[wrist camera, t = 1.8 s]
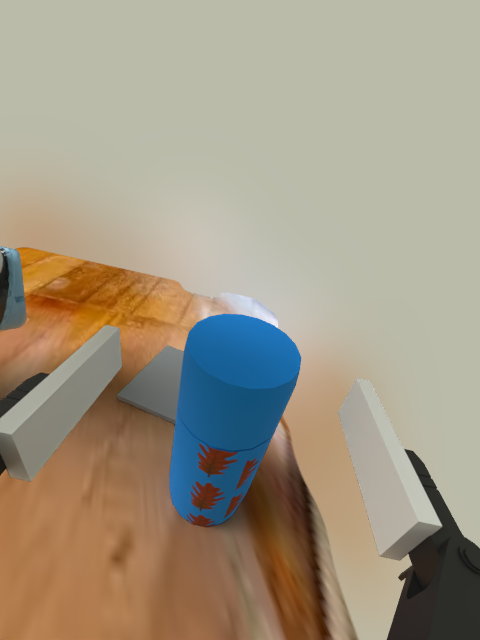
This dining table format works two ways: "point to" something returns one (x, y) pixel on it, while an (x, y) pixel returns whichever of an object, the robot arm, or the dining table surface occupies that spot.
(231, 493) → the thermos
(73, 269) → the dining table surface
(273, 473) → the dining table surface
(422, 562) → the robot arm
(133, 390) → the slate tile
